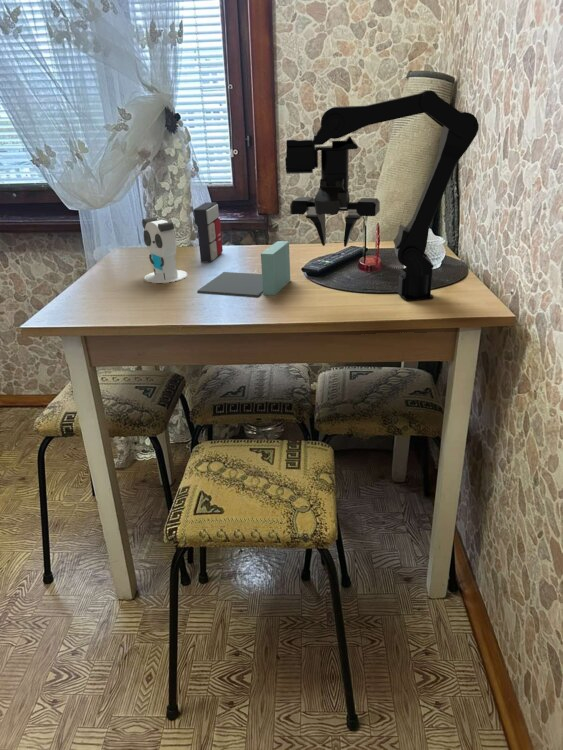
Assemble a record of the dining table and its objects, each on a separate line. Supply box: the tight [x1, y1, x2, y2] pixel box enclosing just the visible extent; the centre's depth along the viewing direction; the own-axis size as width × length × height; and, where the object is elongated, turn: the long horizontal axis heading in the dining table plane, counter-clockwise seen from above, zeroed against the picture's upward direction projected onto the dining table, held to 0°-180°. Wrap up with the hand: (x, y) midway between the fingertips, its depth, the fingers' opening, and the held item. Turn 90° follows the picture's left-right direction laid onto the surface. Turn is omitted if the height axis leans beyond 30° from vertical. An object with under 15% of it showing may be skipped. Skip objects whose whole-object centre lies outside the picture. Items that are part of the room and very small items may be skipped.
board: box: [260, 240, 291, 296], centre depth 139 cm, size 3×12×10 cm, turn 161°
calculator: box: [192, 201, 223, 263], centre depth 165 cm, size 11×4×15 cm, turn 168°
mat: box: [197, 271, 263, 298], centre depth 144 cm, size 16×16×1 cm
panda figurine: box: [141, 216, 188, 284], centre depth 149 cm, size 12×11×15 cm
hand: (334, 245), depth 127 cm, fingers open, 5 cm apart
